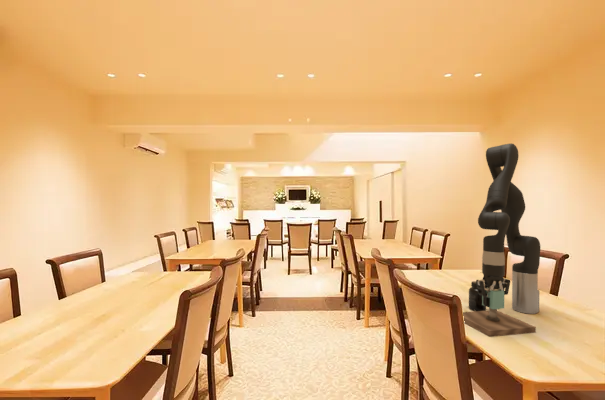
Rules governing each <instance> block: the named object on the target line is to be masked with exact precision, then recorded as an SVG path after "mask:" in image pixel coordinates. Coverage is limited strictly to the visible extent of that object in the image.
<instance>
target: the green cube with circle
mask: <svg viewBox="0 0 605 400" xmlns="http://www.w3.org/2000/svg"><path fill="white" fill-rule="evenodd" d="M487 289H489V288H487ZM504 291H505V290H504ZM504 291H503V290H498V289H493V291H491V292H490V296H489V298H490V307H488V309H489V308H491V309H497V310H500V309H502V310H503V309H505V295H504ZM486 294H487V291H486ZM482 305H484V304H483V296H482Z"/></svg>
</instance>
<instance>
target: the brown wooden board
mask: <svg viewBox="0 0 605 400" xmlns="http://www.w3.org/2000/svg"><path fill="white" fill-rule="evenodd" d="M463 316H464V321H465V323H464V324H465V325H467V326H469V327H470V328H473V329H475V330H477V331H479V332H480V333H482V334H484V335H486V336H487V337H498V336H499V337H500V336H501V337H502V336H510V335H521V334H532V333H536V331H537V328H536V326H534V325H532V324H530V323H527V322H525V321H523V320H520V319H519V318H516V317H513V316H510V315H508V314H506V313H504V312H502V311H500V310H498V309H491V308H489V307H488V310H487V309H486V311H474V310H473V311H463Z"/></svg>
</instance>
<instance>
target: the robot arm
mask: <svg viewBox="0 0 605 400" xmlns="http://www.w3.org/2000/svg"><path fill="white" fill-rule="evenodd" d="M485 159H486V160H485V161H486V163H487V166H488V169H489V172H490V175H491V177H492V178H491V179H493V181H492V183H490V186H489V187H488V191H487V195H486V202H485V203H484V206H483V208H482V210H481V212H480V213H479V215H478V218H477V223H478V226H479V227H480V228H481V229H483V230H488V231H489V230H491V231H497V233H496V234H493V235H485V236H484V237H483V241H482V257H481V259H482V260H481V262H482V263H481V266H482V267H481V268H482V269H481V272H482V274H483V277H482V279H476V284H477V289H478V294H479V295H482V296H483V304H484V306H486V308H489V307H490V298H489V296H490V292H491V291H493V289H498V290H503V291H504V296H507V295H509V291H510V285H511V299H512V300H511V310H513V311H516V312H519V313H522V314H528V315H529V314H530V315H534V314H535V315H536V314H538V313H539V312H540V290H539V282H538V281H539V267H540V260H541V243H540V240H539V239H538V238H537V237H536V236H530V235H522V234H521V232H520V227H519V225H520V221H521V219H522V218H523V215H524V214H525V211H526V203H525V199H524V194H523V192H522V190H520V188H519V187H517V186H516V184H514V183H513V182H512V179H513V177H514V175H515V170H516V168H517V165H518V162H519V161H518V160H519V150H518V147H517V146H516V145H515V144H514V143H505V144H501V145H495V146H491V147H488V148H487V149H486V151H485ZM505 239H506V242H507V243H506V245H507V248H508V251H509V253H511V254H513V255H514V256H521V257H523V261H521V262H516V263H513V264H512V266H511V270H512V272H511V276H512V277H511V279H512V280H510V279H508V278H505V274H506V272H505V271H506V270H505V269H506V264H505V263H506V257H505ZM487 288H489V289H487ZM486 291H487V294H486Z"/></svg>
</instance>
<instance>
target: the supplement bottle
mask: <svg viewBox="0 0 605 400" xmlns="http://www.w3.org/2000/svg"><path fill="white" fill-rule="evenodd" d="M470 286H471V287H469V289H468V308H469V310H471V311H473V312H474V311H487V307H486V306H484V305H482V295H479V294H478V289H477V284H476V281H475V280H473V281H471V284H470Z"/></svg>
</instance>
